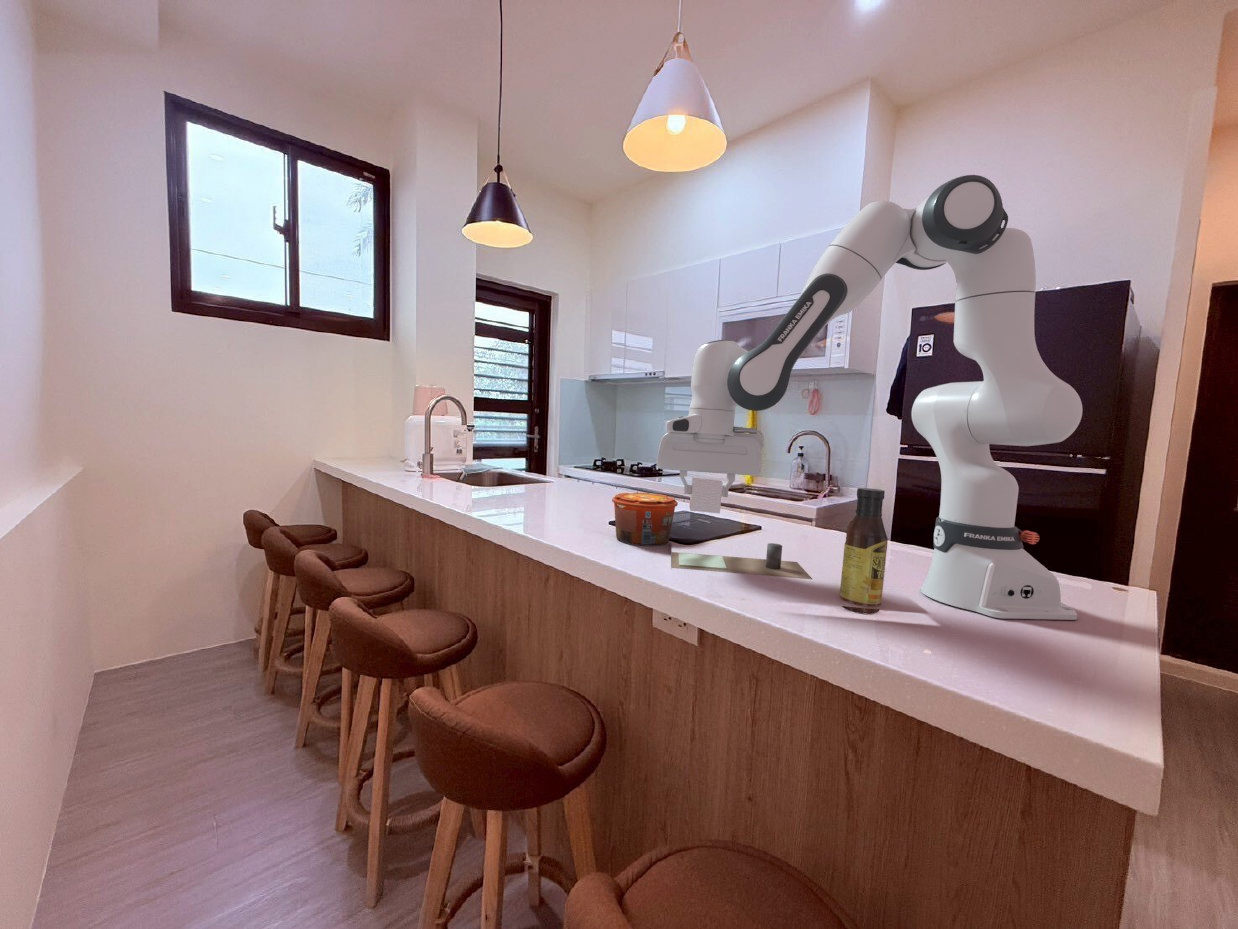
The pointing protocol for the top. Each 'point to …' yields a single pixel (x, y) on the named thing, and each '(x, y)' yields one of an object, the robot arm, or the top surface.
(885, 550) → the sauce bottle
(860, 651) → the top surface
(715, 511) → the white cube
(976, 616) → the top surface
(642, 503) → the food container
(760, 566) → the post board
